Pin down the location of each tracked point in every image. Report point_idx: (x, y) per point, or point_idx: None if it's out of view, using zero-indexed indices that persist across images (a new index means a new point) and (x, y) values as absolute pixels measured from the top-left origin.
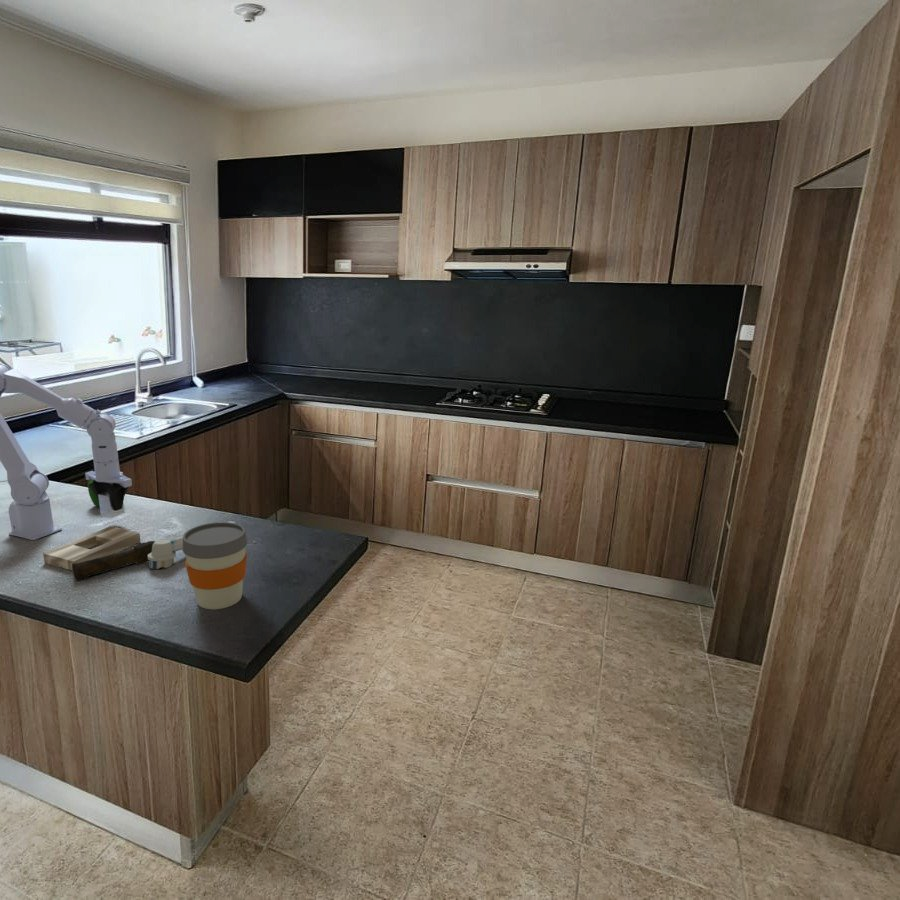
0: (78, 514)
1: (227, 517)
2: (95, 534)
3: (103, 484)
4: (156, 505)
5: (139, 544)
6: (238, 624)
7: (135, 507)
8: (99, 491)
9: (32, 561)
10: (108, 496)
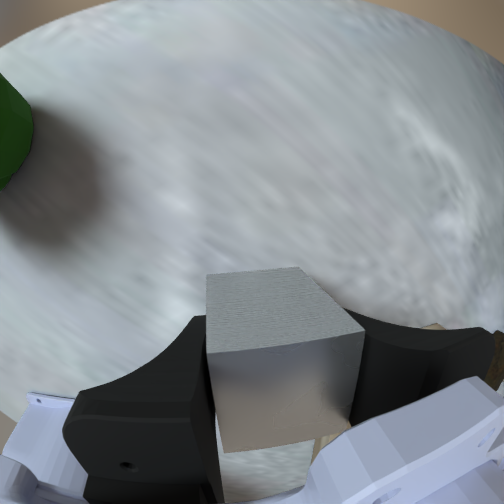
0: (13, 280)
1: (490, 71)
2: (347, 424)
3: (215, 475)
4: (205, 17)
5: (495, 385)
6: None
7: (130, 79)
8: (216, 456)
9: (274, 490)
10: (337, 431)
